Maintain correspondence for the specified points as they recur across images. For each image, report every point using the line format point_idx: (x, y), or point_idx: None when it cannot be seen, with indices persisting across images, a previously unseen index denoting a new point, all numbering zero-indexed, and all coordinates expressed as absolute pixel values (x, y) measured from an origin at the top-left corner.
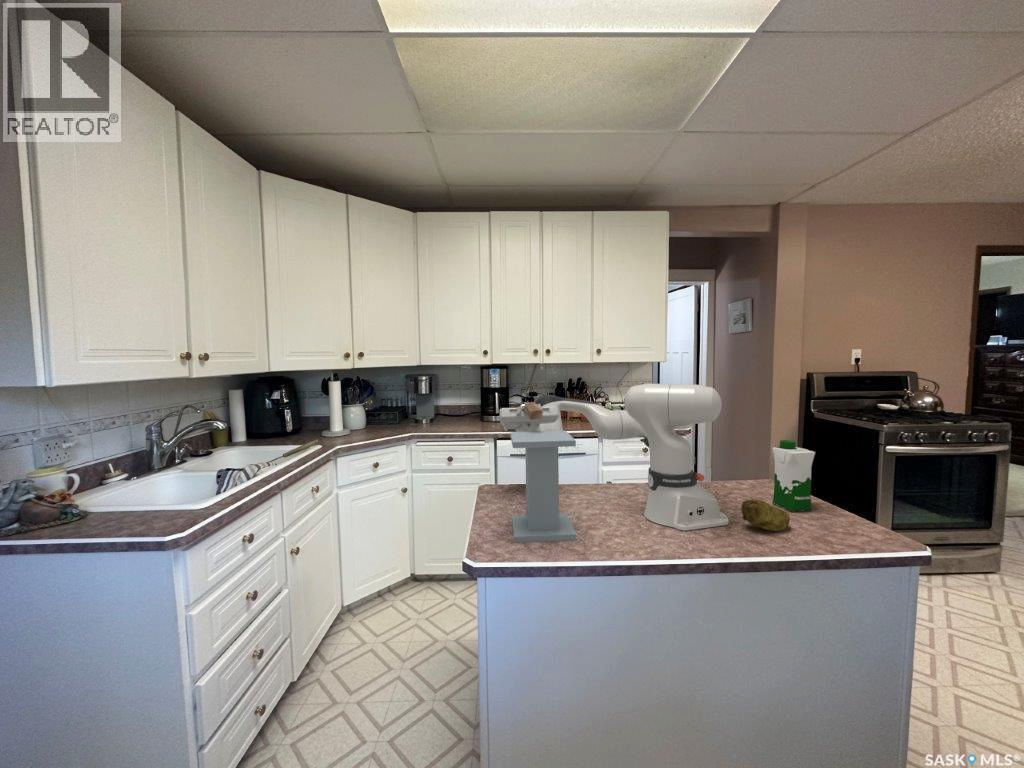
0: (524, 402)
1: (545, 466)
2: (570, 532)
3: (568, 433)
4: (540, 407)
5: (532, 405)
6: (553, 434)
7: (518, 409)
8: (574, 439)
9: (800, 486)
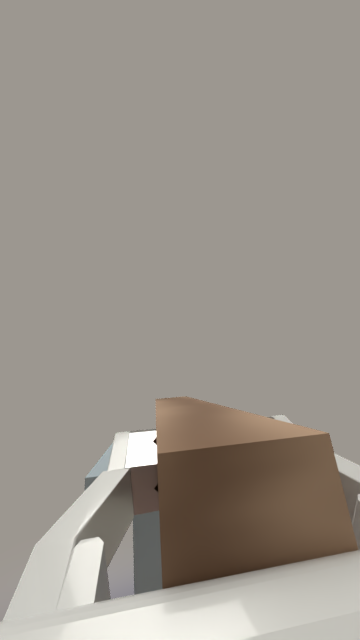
0: (308, 429)
1: None
2: None
3: (96, 463)
4: (95, 496)
5: (181, 406)
6: None
7: (350, 486)
8: (111, 444)
9: None
